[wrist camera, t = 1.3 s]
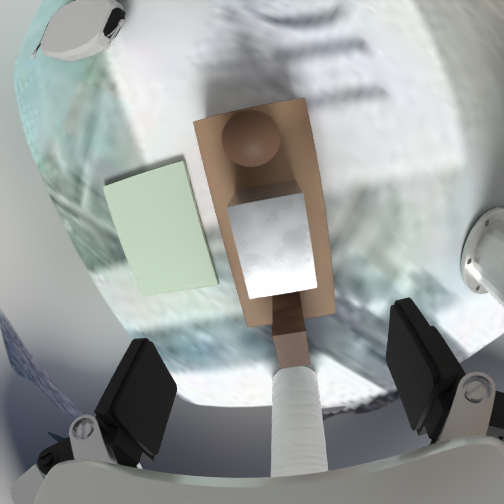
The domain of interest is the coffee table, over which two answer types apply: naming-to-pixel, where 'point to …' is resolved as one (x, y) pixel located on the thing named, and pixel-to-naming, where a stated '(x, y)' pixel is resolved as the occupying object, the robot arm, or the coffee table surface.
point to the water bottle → (297, 424)
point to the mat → (161, 230)
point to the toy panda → (82, 29)
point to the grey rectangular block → (273, 239)
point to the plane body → (263, 174)
